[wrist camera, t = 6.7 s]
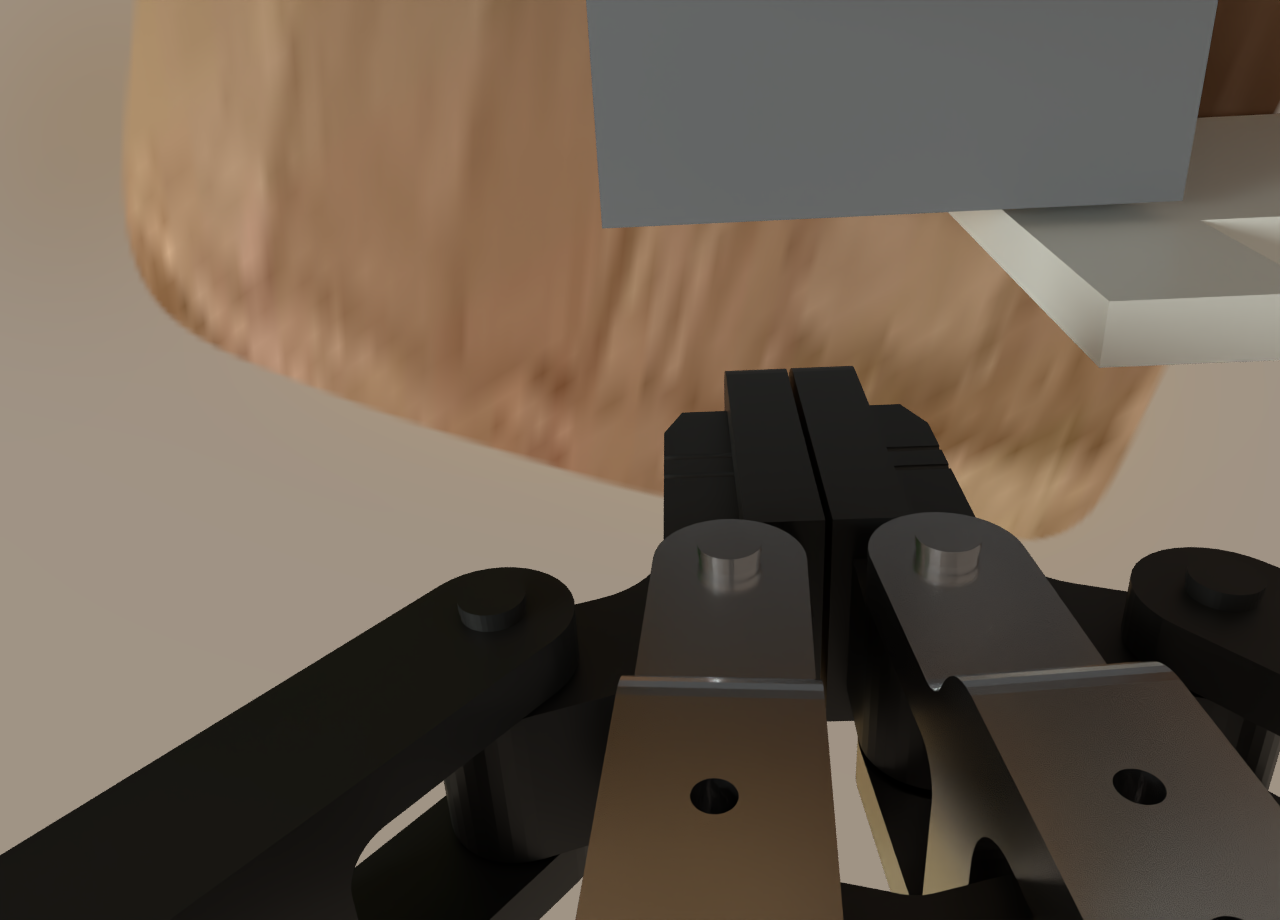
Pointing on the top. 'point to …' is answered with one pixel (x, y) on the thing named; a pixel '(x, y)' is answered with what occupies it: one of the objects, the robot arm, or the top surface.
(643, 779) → the robot arm
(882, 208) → the camera housing
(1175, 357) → the side door
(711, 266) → the top surface
